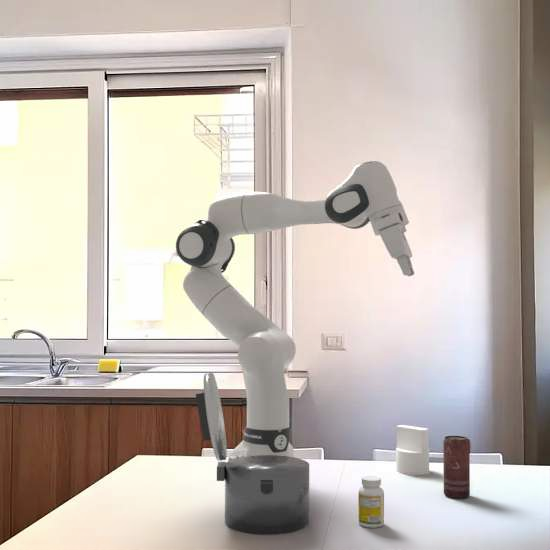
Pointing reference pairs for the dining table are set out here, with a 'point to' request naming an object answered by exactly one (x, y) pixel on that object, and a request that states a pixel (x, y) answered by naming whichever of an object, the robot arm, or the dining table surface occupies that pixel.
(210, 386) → the cooker lid
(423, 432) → the white stacked block
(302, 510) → the cooker pot
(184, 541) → the dining table surface
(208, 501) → the dining table surface
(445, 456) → the can
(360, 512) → the supplement bottle
